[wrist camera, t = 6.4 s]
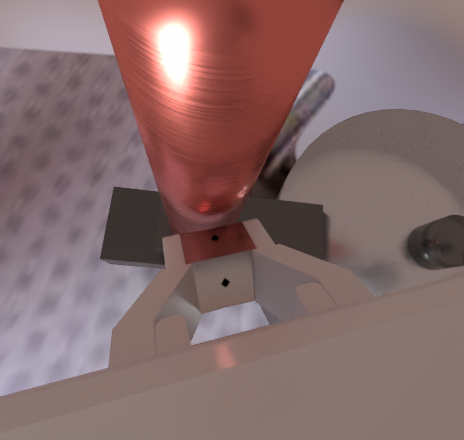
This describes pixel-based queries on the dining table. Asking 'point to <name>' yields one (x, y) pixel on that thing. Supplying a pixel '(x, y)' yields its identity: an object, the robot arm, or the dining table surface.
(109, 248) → the pot
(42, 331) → the dining table surface
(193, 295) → the robot arm
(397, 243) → the lid
